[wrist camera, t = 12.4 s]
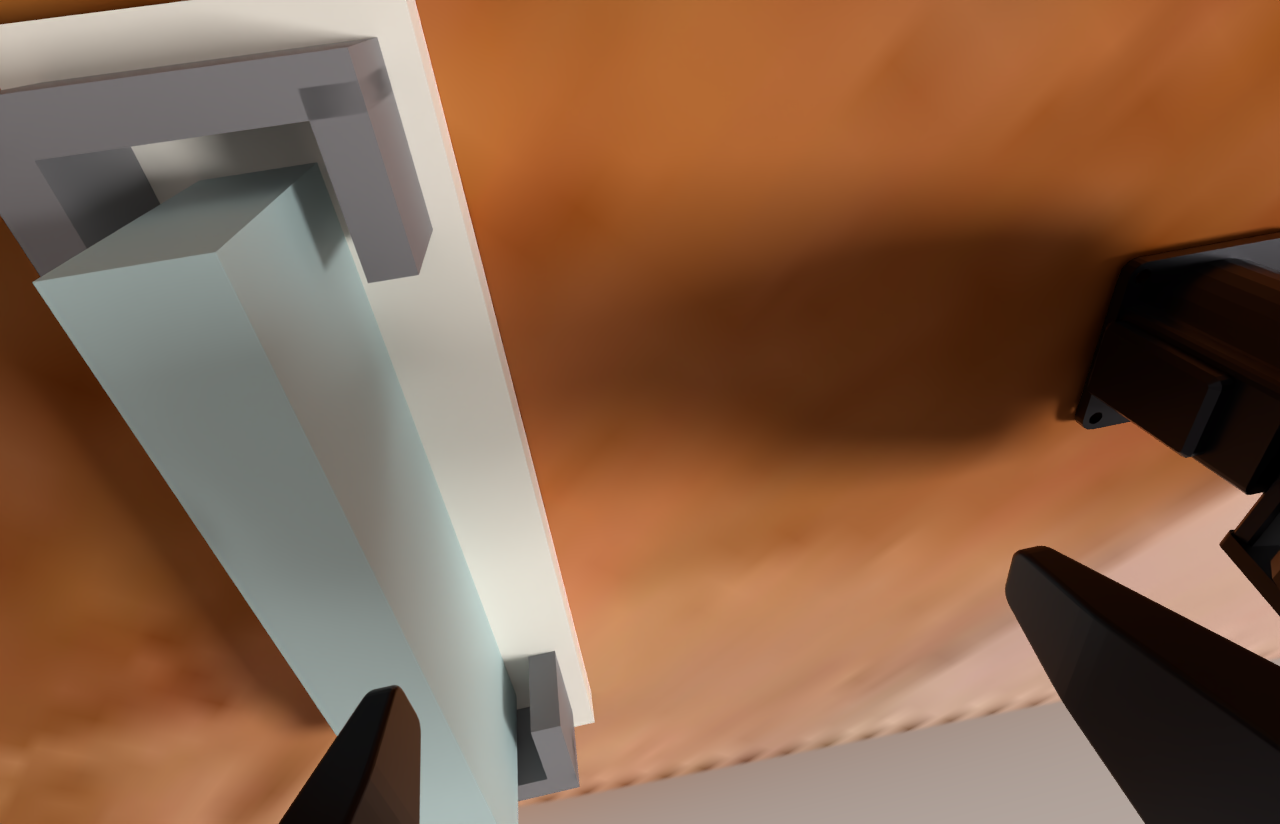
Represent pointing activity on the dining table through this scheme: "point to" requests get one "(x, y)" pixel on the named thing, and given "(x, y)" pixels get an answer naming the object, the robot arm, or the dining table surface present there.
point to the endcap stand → (372, 225)
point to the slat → (300, 460)
